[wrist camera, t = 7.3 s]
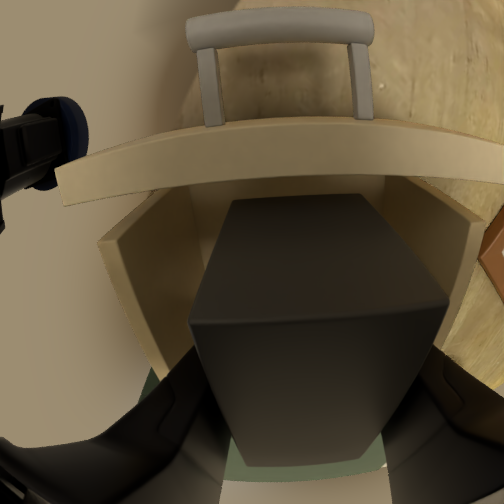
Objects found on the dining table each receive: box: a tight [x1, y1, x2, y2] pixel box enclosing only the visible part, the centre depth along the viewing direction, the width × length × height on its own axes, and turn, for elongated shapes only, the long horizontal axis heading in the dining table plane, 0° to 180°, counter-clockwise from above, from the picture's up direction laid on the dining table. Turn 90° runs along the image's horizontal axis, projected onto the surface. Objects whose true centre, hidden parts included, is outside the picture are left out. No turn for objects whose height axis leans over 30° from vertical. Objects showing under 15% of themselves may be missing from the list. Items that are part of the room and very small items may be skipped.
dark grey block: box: [187, 193, 450, 467], centre depth 7 cm, size 7×4×5 cm, turn 6°
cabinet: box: [138, 367, 386, 482], centre depth 17 cm, size 14×15×11 cm
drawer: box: [55, 7, 504, 381], centre depth 11 cm, size 17×13×9 cm
